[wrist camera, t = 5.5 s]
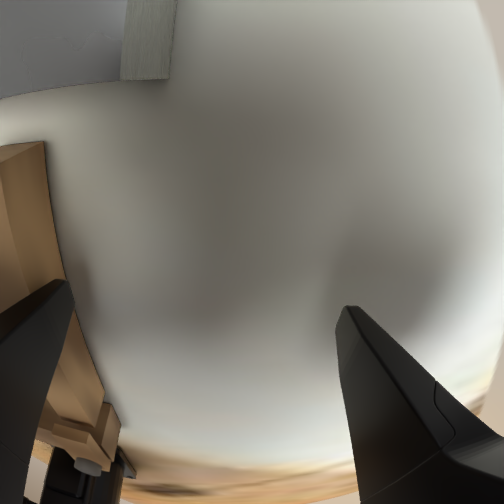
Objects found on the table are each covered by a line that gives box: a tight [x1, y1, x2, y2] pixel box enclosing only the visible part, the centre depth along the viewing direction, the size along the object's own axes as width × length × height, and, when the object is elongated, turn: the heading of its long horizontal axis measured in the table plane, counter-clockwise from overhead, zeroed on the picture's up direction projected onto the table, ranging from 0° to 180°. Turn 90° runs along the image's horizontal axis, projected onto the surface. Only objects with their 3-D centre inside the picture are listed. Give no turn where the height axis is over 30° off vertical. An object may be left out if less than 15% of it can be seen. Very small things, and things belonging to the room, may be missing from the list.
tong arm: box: [0, 141, 111, 476], centre depth 9 cm, size 15×2×4 cm, turn 174°
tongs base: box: [35, 398, 121, 462], centre depth 10 cm, size 15×7×2 cm, turn 174°
